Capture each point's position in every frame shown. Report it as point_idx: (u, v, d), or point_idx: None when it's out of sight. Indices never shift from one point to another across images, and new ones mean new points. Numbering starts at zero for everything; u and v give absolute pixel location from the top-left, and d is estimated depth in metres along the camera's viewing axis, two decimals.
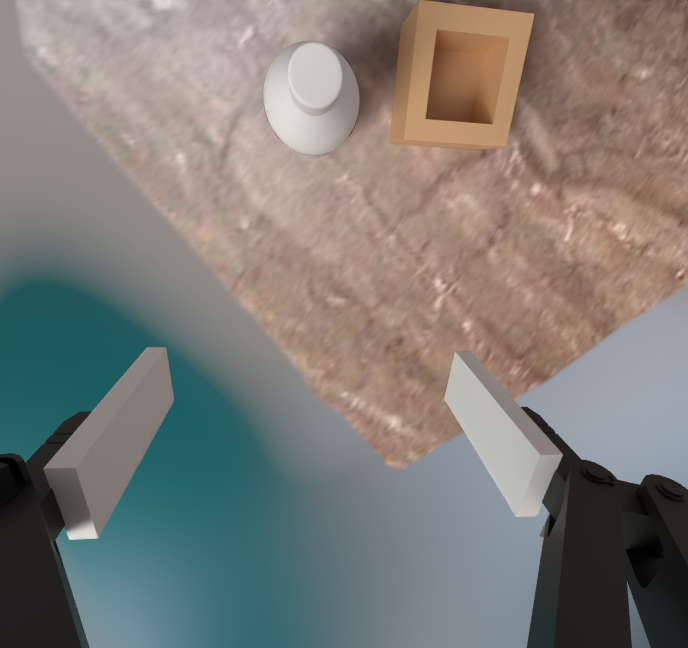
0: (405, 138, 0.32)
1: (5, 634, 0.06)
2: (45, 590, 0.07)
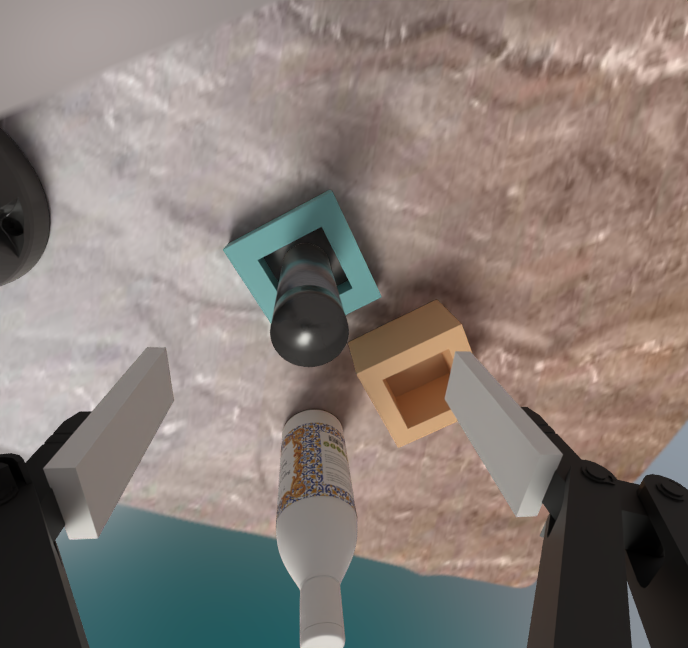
0: (398, 446, 0.35)
1: (5, 634, 0.06)
2: (45, 590, 0.07)
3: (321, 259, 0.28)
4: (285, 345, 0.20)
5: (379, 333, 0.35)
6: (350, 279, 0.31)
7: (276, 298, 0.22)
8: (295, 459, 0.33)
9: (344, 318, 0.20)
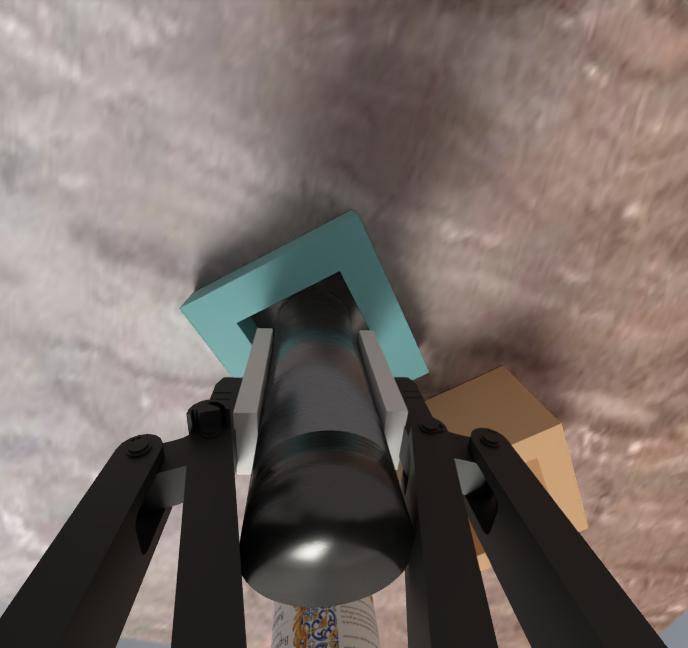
0: None
1: (197, 540, 0.08)
2: (226, 518, 0.08)
3: (340, 328, 0.16)
4: (273, 578, 0.09)
5: None
6: (383, 349, 0.20)
7: (259, 437, 0.11)
8: (296, 614, 0.22)
9: (408, 525, 0.09)
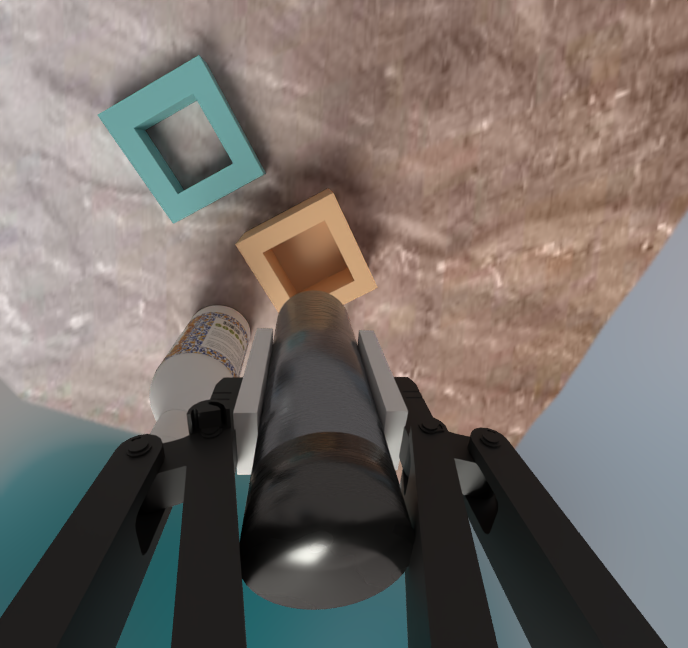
0: None
1: (197, 540, 0.08)
2: (225, 518, 0.08)
3: (340, 328, 0.16)
4: (273, 580, 0.09)
5: (271, 219, 0.36)
6: (229, 153, 0.32)
7: (258, 438, 0.11)
8: (183, 334, 0.34)
9: (408, 527, 0.09)
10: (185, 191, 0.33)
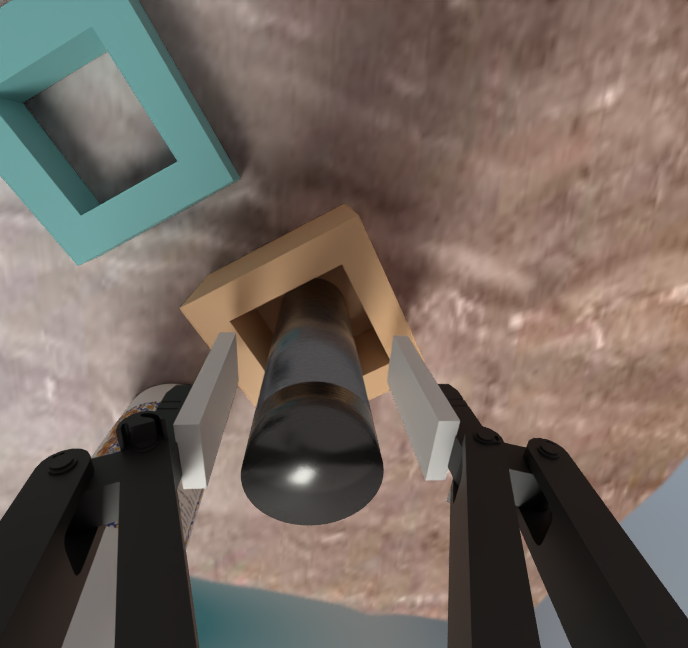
0: None
1: (137, 561, 0.07)
2: (168, 534, 0.08)
3: (335, 309, 0.19)
4: (269, 496, 0.11)
5: (250, 255, 0.22)
6: (170, 143, 0.18)
7: (260, 391, 0.13)
8: None
9: (376, 453, 0.11)
10: (94, 211, 0.18)
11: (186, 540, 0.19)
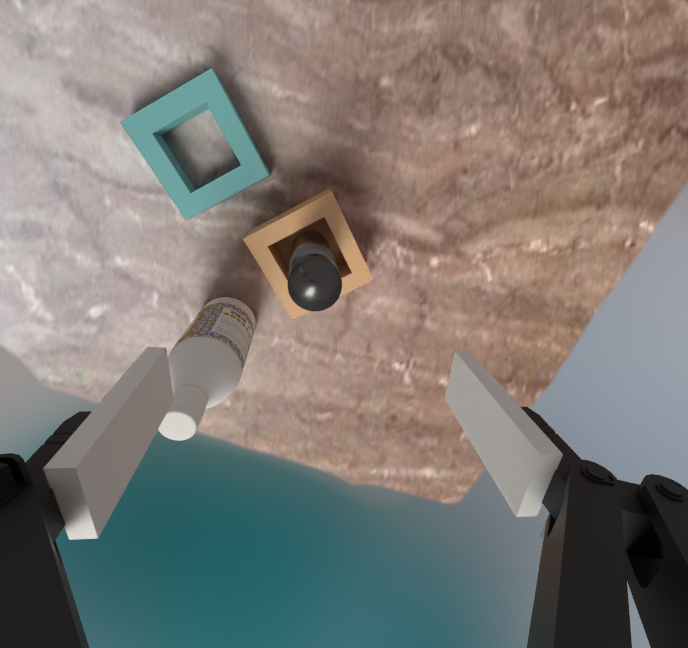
0: (292, 318, 0.39)
1: (5, 634, 0.06)
2: (45, 590, 0.07)
3: (323, 241, 0.36)
4: (297, 294, 0.28)
5: (275, 217, 0.39)
6: (238, 156, 0.35)
7: (290, 265, 0.31)
8: (194, 322, 0.37)
9: (339, 275, 0.28)
10: (197, 190, 0.36)
11: (244, 361, 0.36)
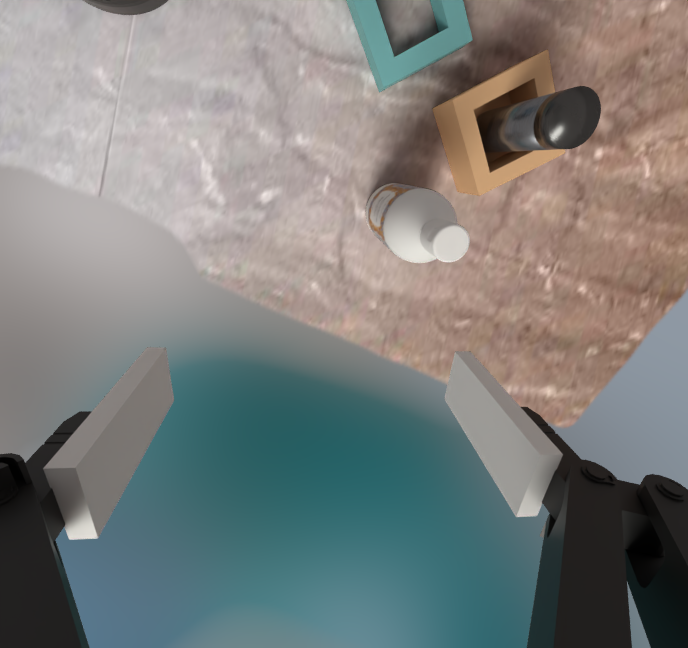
0: (480, 194, 0.39)
1: (5, 634, 0.06)
2: (45, 590, 0.07)
3: None
4: (556, 128, 0.28)
5: (463, 92, 0.39)
6: (447, 17, 0.35)
7: (529, 110, 0.31)
8: (392, 190, 0.37)
9: (599, 107, 0.28)
10: (401, 54, 0.36)
11: None
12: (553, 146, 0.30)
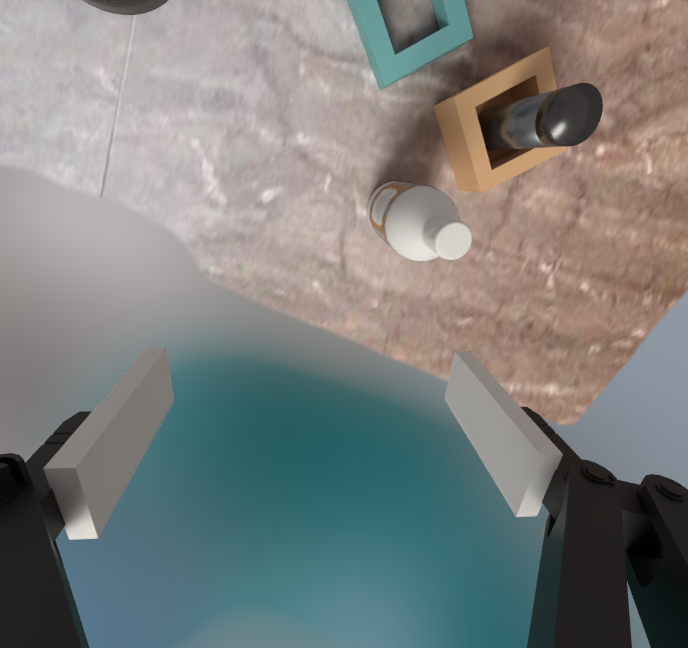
0: (481, 192, 0.39)
1: (5, 634, 0.06)
2: (45, 590, 0.07)
3: None
4: (558, 125, 0.28)
5: None
6: (448, 14, 0.35)
7: (530, 108, 0.31)
8: (393, 188, 0.37)
9: (601, 103, 0.28)
10: (402, 52, 0.36)
11: None
12: (555, 143, 0.30)
